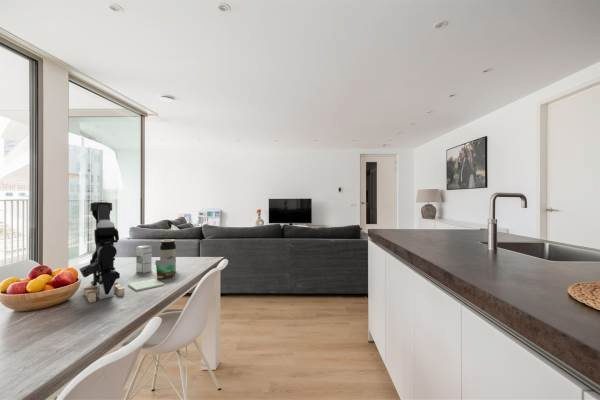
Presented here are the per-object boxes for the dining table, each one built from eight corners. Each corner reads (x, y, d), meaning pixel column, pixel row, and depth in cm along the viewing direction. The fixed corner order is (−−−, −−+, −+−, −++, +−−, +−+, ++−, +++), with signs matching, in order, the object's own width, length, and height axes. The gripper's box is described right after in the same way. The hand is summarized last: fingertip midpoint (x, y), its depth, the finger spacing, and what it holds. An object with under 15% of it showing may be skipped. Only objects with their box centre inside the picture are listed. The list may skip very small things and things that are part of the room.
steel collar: (96, 296, 117) (96, 282, 117) (110, 293, 121) (110, 279, 121) (99, 299, 113) (99, 284, 113) (113, 296, 117) (113, 282, 117)
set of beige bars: (83, 294, 119) (83, 285, 119) (116, 288, 128) (116, 279, 128) (89, 302, 110) (89, 292, 110) (124, 295, 119) (124, 285, 119)
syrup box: (152, 270, 159) (152, 245, 159) (142, 273, 154) (142, 247, 154) (145, 269, 162) (145, 244, 162) (135, 272, 156) (135, 246, 156)
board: (128, 285, 132) (128, 283, 132) (155, 280, 141) (155, 278, 141) (136, 291, 124) (136, 289, 124) (164, 285, 132) (164, 283, 132)
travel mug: (160, 274, 151) (160, 241, 151) (160, 271, 158) (160, 239, 159) (176, 272, 155) (176, 240, 155) (175, 269, 162) (175, 238, 162)
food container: (165, 280, 140) (165, 261, 140) (155, 280, 141) (155, 260, 141) (180, 274, 152) (180, 256, 152) (170, 273, 153) (171, 255, 153)
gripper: (77, 255, 118) (77, 292, 118) (86, 262, 105) (85, 303, 105) (108, 251, 126) (108, 286, 126) (120, 257, 113) (120, 296, 113)
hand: (105, 292), depth 117 cm, fingers closed on steel collar, 5 cm apart
